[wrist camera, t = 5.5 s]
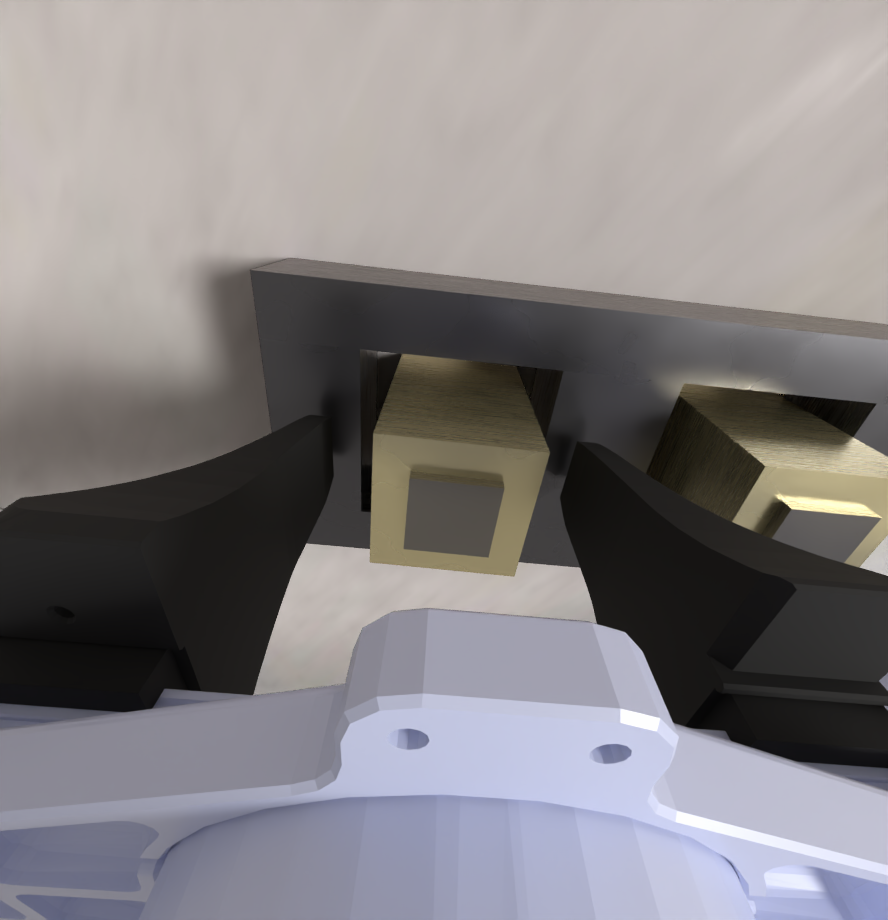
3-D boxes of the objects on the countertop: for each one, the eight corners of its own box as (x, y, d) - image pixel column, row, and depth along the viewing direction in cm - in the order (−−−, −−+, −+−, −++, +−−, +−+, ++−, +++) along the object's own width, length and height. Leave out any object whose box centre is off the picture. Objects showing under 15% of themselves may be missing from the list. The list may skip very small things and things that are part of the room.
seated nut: (765, 387, 15) (946, 490, 9) (715, 479, 17) (839, 608, 11) (655, 375, 14) (774, 473, 9) (618, 470, 17) (698, 595, 11)
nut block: (516, 366, 14) (552, 459, 9) (495, 462, 16) (515, 585, 11) (402, 353, 14) (370, 439, 9) (396, 451, 16) (367, 570, 11)
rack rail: (908, 327, 13) (1017, 354, 11) (768, 534, 18) (820, 588, 15) (291, 257, 13) (250, 269, 10) (311, 492, 17) (286, 541, 15)
